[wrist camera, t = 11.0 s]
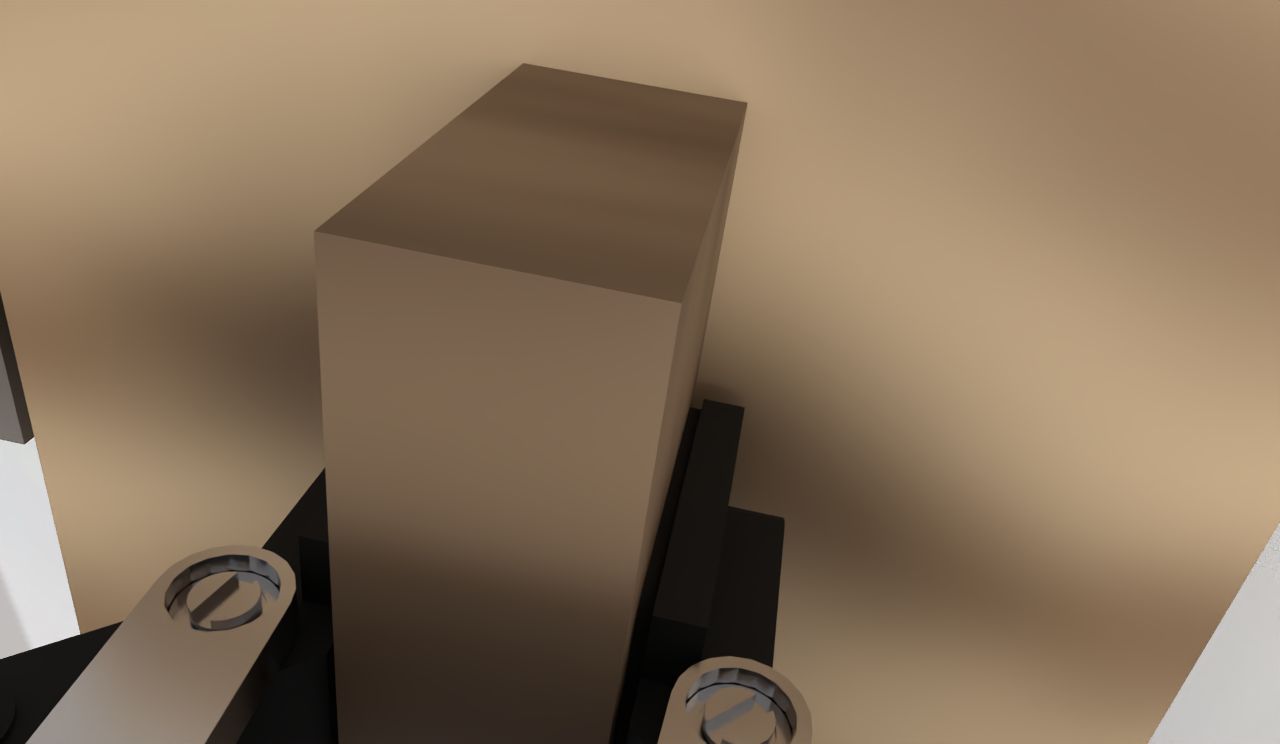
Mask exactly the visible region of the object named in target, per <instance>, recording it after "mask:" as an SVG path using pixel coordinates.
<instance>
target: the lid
mask: <svg viewBox="0 0 1280 744" xmlns="http://www.w3.org/2000/svg"><path fill="white" fill-rule="evenodd" d="M0 292H1V296H2V301H3V305H4V309H5V314H6V318H7V322H8V326H9V331H10V335H11V339H12V343H13V348H14V352H15V356H16V361H17V365H18V369H19V373H20V378H21V382H22V386H23V390H24V395H25V399H26V403H27V407H28V412H29V416H30V420H31V425H32V429H33V433H34V437H35V442H36V446H37V450H38V454H39V459H40V463H41V467H42V472H43V476H44V480H45V484H46V489H47V493H48V497H49V501H50V506H51V510H52V514H53V519H54V523H55V527H56V531H57V536H58V540H59V544H60V548H61V553H62V557H63V561H64V566H65V570H66V574H67V578H68V583H69V587H70V591H71V595H72V600H73V604H74V608H75V612H76V617H77V621H78V625H79V630H80V634H83V633H86V632H90V631H93V630H96V629H99V628H102V627H106V626H109V625H112V624H115V623H118V622H122V621H124V620H125V619H126V618H127V616H128V615H129V614H130V613H131V611H132V610H133V609H134V608H135V606H136V605H137V604H138V603H139V601H140V600H141V599H142V598H143V596H144V595H145V594H146V593H147V591H148V590H149V589H150V588H151V586H152V585H153V584H154V583H155V581H156V580H157V579H158V578H159V577H160V576H161V575H162V574H163V573H164V572H165V571H166V570H168V569H169V568H170V567H171V566H172V565H173V564H175V563H177V562H179V561H180V560H182V559H184V558H186V557H188V556H189V555H191V554H194V553H197V552H201V551H204V550H207V549H210V548H214V547H222V546H230V545H242V546H256V547H259V548H262V547H263V546H264V544H265V543H266V542H267V540H268V539H269V538H270V537H271V535H272V534H273V533H274V532H275V530H276V529H277V528H278V526H279V525H280V524H281V523H282V521H283V520H284V519H285V518H286V516H287V515H288V514H289V512H290V511H291V510H292V509H293V507H294V506H295V505H296V504H297V502H298V501H299V500H300V498H301V497H302V496H303V495H304V493H305V492H306V491H307V490H308V488H309V487H310V486H311V484H312V483H313V482H314V481H315V479H316V478H317V477H318V476H319V474H320V473H321V472H322V470H323V469H324V468H325V474H326V495H327V515H328V536H329V556H330V577H331V598H332V618H333V639H334V659H335V680H336V700H337V721H338V741H339V744H614V741H615V735H616V729H617V724H618V718H619V712H620V706H621V700H622V694H623V689H624V683H625V677H626V671H627V665H628V659H629V654H630V648H631V642H632V636H633V631H634V625H635V620H636V615H637V611H638V606H639V602H640V597H641V593H642V589H643V585H644V582H645V578H646V574H647V570H648V566H649V562H650V558H651V555H652V551H653V547H654V543H655V539H656V535H657V531H658V528H659V524H660V520H661V516H662V512H663V508H664V504H665V501H666V497H667V493H668V489H669V485H670V481H671V477H672V474H673V470H674V466H675V462H676V458H677V454H678V450H679V447H680V443H681V439H682V435H683V431H684V427H685V423H686V420H687V416H688V412H689V408H690V407H692V408H696V409H702V405H703V401H704V399H708V400H712V401H717V402H722V403H727V404H732V405H737V406H742V407H745V410H744V416H743V422H742V428H741V434H740V440H739V446H738V452H737V458H736V464H735V470H734V476H733V481H732V487H731V493H730V499H729V505H728V506H731V507H736V508H741V509H745V510H750V511H755V512H759V513H764V514H769V515H773V516H778V517H783V518H784V520H785V529H784V541H783V552H782V564H781V576H780V588H779V600H778V611H777V623H776V635H775V647H774V659H773V669H774V670H776V671H777V672H779V673H780V674H782V675H783V676H785V677H786V678H787V679H789V680H790V681H791V682H792V684H793V685H794V686H795V687H796V688H797V689H798V690H799V692H800V693H801V694H802V695H803V697H804V699H805V701H806V704H807V706H808V708H809V710H810V712H811V720H812V731H813V732H812V741H811V744H1148V742H1149V740H1150V739H1151V737H1152V735H1153V734H1154V732H1155V730H1156V729H1157V727H1158V725H1159V724H1160V722H1161V720H1162V718H1163V717H1164V715H1165V713H1166V712H1167V710H1168V708H1169V707H1170V705H1171V703H1172V702H1173V700H1174V698H1175V697H1176V695H1177V693H1178V692H1179V690H1180V688H1181V687H1182V685H1183V683H1184V682H1185V680H1186V678H1187V677H1188V675H1189V673H1190V672H1191V670H1192V668H1193V667H1194V665H1195V663H1196V662H1197V660H1198V658H1199V657H1200V655H1201V653H1202V651H1203V650H1204V648H1205V646H1206V645H1207V643H1208V641H1209V640H1210V638H1211V636H1212V635H1213V633H1214V631H1215V630H1216V628H1217V626H1218V625H1219V623H1220V621H1221V620H1222V618H1223V616H1224V615H1225V613H1226V611H1227V610H1228V608H1229V606H1230V605H1231V603H1232V601H1233V600H1234V598H1235V596H1236V595H1237V593H1238V591H1239V590H1240V588H1241V586H1242V584H1243V583H1244V581H1245V579H1246V578H1247V576H1248V574H1249V573H1250V571H1251V569H1252V568H1253V566H1254V564H1255V563H1256V561H1257V559H1258V558H1259V556H1260V554H1261V553H1262V551H1263V549H1264V548H1265V546H1266V544H1267V543H1268V541H1269V539H1270V538H1271V536H1272V534H1273V533H1274V531H1275V529H1276V528H1277V526H1278V524H1279V523H1280V0H0Z"/></svg>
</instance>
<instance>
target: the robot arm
mask: <svg viewBox="0 0 1280 744" xmlns="http://www.w3.org/2000/svg"><path fill="white" fill-rule="evenodd" d="M744 410H745V407H742V406H737V405H732V404H727V403H722V402H717V401H712V400H708V399H704V401H703V405H702V409H696V408H692V407H690V408H689V412H688V416H687V420H686V423H685V427H684V431H683V435H682V439H681V443H680V447H679V450H678V454H677V458H676V462H675V466H674V470H673V474H672V477H671V481H670V485H669V489H668V493H667V497H666V501H665V504H664V508H663V512H662V516H661V520H660V524H659V528H658V531H657V535H656V539H655V543H654V547H653V551H652V555H651V558H650V562H649V566H648V570H647V574H646V578H645V582H644V585H643V589H642V593H641V597H640V602H639V606H638V611H637V615H636V620H635V625H634V631H633V636H632V642H631V648H630V654H629V659H628V665H627V671H626V677H625V683H624V689H623V694H622V700H621V706H620V712H619V718H618V724H617V729H616V735H615V741H614V744H811V741H812V732H813V731H812V720H811V712H810V710H809V708H808V706H807V704H806V701H805V699H804V697H803V695H802V694H801V693H800V692H799V690H798V689H797V688H796V687H795V686H794V685H793V684H792V682H791V681H790V680H789V679H787V678H786V677H785V676H783V675H782V674H780V673H779V672H777V671H776V670H774V669H773V659H774V647H775V635H776V623H777V611H778V600H779V588H780V576H781V564H782V552H783V541H784V529H785V520H784V518H783V517H778V516H773V515H769V514H764V513H759V512H755V511H750V510H745V509H741V508H736V507H731V506H728V505H729V499H730V493H731V487H732V481H733V476H734V470H735V464H736V458H737V452H738V446H739V440H740V434H741V428H742V422H743V416H744ZM0 744H339V741H338V721H337V700H336V680H335V659H334V639H333V618H332V598H331V577H330V556H329V536H328V515H327V495H326V474H325V468H324V469H323V470H322V472H321V473H320V474H319V476H318V477H317V478H316V479H315V481H314V482H313V483H312V484H311V486H310V487H309V488H308V490H307V491H306V492H305V493H304V495H303V496H302V497H301V498H300V500H299V501H298V502H297V504H296V505H295V506H294V507H293V509H292V510H291V511H290V512H289V514H288V515H287V516H286V518H285V519H284V520H283V521H282V523H281V524H280V525H279V526H278V528H277V529H276V530H275V532H274V533H273V534H272V535H271V537H270V538H269V539H268V540H267V542H266V543H265V544H264V546H263V547H262V548H259V547H256V546H242V545H230V546H222V547H214V548H210V549H207V550H204V551H201V552H197V553H194V554H191V555H189V556H188V557H186V558H184V559H182V560H180V561H179V562H177V563H175V564H173V565H172V566H171V567H170V568H169V569H168V570H166V571H165V572H164V573H163V574H162V575H161V576H160V577H159V578H158V579H157V580H156V581H155V583H154V584H153V585H152V586H151V588H150V589H149V590H148V591H147V593H146V594H145V595H144V596H143V598H142V599H141V600H140V601H139V603H138V604H137V605H136V606H135V608H134V609H133V610H132V611H131V613H130V614H129V615H128V616H127V618H126V619H125V620H124V621H122V622H118V623H115V624H112V625H109V626H106V627H102V628H99V629H96V630H93V631H90V632H86V633H83V634H80V635H77V636H74V637H70V638H67V639H64V640H61V641H58V642H54V643H51V644H48V645H45V646H42V647H38V648H35V649H32V650H29V651H26V652H22V653H19V654H16V655H13V656H9V657H7V658H3V659H0Z"/></svg>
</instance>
